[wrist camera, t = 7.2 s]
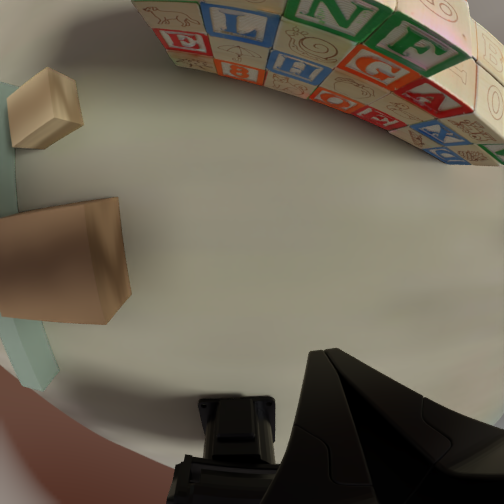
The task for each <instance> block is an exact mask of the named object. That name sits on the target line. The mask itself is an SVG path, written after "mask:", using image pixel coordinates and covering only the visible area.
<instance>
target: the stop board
mask: <svg viewBox="0 0 504 504" xmlns="http://www.w3.org/2000/svg"><path fill="white" fill-rule="evenodd" d="M18 88H19V87H17V86H14V85H11V84H7V83H4V82H0V218H1V217H5V216H9V215H13V214H17V213H18V206H17V195H16V179H15V148H14V147H12V141H11V134H10V127H9V118H8V108H7V98H8V97H9V96H10V95H11V94H12V93H14V92H15V91H16V90H17V89H18ZM0 337H1V340H2V342H3V345H4V347H5V350H6V352H7V355H8V357H9V359H10V362H11V364H12V366H13V368H14V370H15V372H16V375H17V377H18V379H19V381H20V383H21V385H22V386H24V387H28V388H31V389H35V390H39V391H44V390H45V389H46V387H47V386H48V385H49V384H50V382H51V381H52V380H53V378H54V377H55V376H56V375H57V373H58V372H59V371H60V370H59V368H58V365H57V363H56V360H55V358H54V355H53V353H52V350H51V347H50V345H49V342H48V339H47V336H46V333H45V330H44V327H43V324H42V321H38V320H27V319H18V318H9V317H2V316H1V312H0Z"/></svg>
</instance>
